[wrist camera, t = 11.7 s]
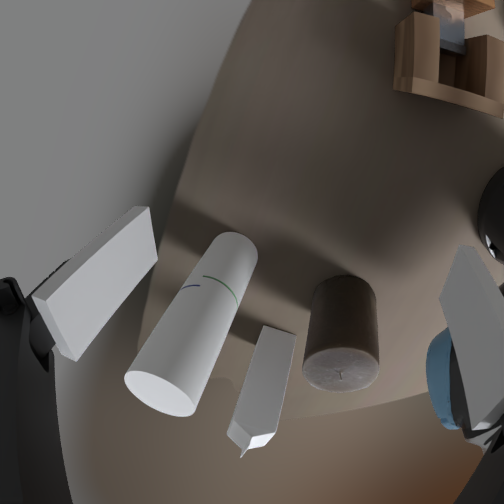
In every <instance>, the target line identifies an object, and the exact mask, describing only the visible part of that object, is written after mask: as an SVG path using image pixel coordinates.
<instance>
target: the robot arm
mask: <svg viewBox="0 0 504 504" xmlns="http://www.w3.org/2000/svg"><path fill="white" fill-rule="evenodd" d="M478 230H479V234H480V237H481V240H482V242H483V244H484V246H485V247H486V248H487V250H488V251H489V253H490V254H491V255H492V257H493V258H494V259H496V260H497V261H498V262H500V263H501V264H503V265H504V167H503V168H502V169H501V170H499V171H498V172H497V173H496V174H495V175H494V177H493V178H492V179H491V180H490V182H489V183H488V185H487V187H486V189H485V191H484V193H483V195H482V198H481V201H480V205H479V210H478ZM157 260H158V258H157V253H156V247H155V242H154V235H153V230H152V223H151V217H150V210H149V207H145V206H134V207H133V208H131V209H130V210H129V211H128V212H126V213H125V214H124V215H122V216H121V217H120V218H119V219H117V220H116V221H115V222H114V223H112V224H111V225H110V226H109V227H107V228H106V229H105V230H104V231H103V232H101V233H100V234H99V235H98V236H96V237H95V238H94V239H93V240H92V241H91V242H89V243H88V244H87V245H86V246H85V247H84V248H82V249H81V250H80V251H79V252H78V253H77V254H75V255H74V257H72V258H70V259H69V260H67V261H65V262H63V263H62V264H61V265H60V266H59V267H58V268H57V269H56V270H55V272H54V271H53V272H52V273H51V274H50V275H49V277H48V278H46V279H45V280H44V281H43V282H42V283H41V284H40V285H39V286H37V287H36V288H35V289H34V290H33V291H32V292H31V293H30V294H29V295H28V296H27V297H26V298H24V296H23V294H22V292H21V290H20V288H19V285H18V283H17V281H16V280H15V278H12V277H7V278H3V279H0V504H73V503H72V499H71V495H70V490H69V486H68V481H67V476H66V471H65V466H64V460H63V455H62V448H61V441H60V434H59V425H58V416H57V405H56V391H55V370H54V369H55V368H54V354H53V351H52V350H51V349H52V347H53V346H54V345H55V344H56V345H57V347H58V349H59V351H60V352H61V354H62V355H63V356H66V357H68V358H70V359H72V360H74V361H77V360H78V359H79V358H80V356H81V355H82V353H83V352H84V351H85V349H86V348H87V347H88V345H89V344H90V343H91V342H92V340H93V339H94V338H95V336H96V335H97V334H98V333H99V331H100V330H101V329H102V327H103V326H104V325H105V324H106V322H107V321H108V320H109V318H110V317H111V316H112V315H113V313H114V312H115V311H116V309H117V308H118V307H119V306H120V305H121V303H122V302H123V301H124V300H125V299H126V297H127V296H128V295H129V294H130V292H131V291H132V290H133V289H134V288H135V286H136V285H137V284H138V283H139V282H140V280H141V279H142V278H143V277H144V276H145V274H146V273H147V272H148V270H150V268H151V267H152V266H153V265H154V264H155V263H156V261H157ZM439 300H440V303H441V306H442V309H443V312H444V315H445V318H446V321H447V324H448V327H447V328H446V329H445V330H443V331H442V332H441V333H439V334H438V335H437V336H436V337H435V338H434V339H433V340H432V342H431V343H430V345H429V348H428V352H427V359H426V377H427V384H428V390H429V394H430V398H431V401H432V405H433V408H434V410H435V412H436V415H437V416H438V418H441V423H442V424H443V426H445V427H446V428H448V429H459V428H460V427H461V428H462V431H463V434H464V437H465V440H466V441H467V442H470V443H473V444H476V445H479V446H480V447H482V450H483V453H484V456H483V458H482V460H481V461H480V463H479V465H478V466H477V468H476V470H475V472H474V473H473V475H472V476H471V478H470V480H469V481H468V483H467V484H466V486H465V487H464V489H463V491H462V492H461V493H460V495H459V496H458V498H457V499H456V501H455V502H454V504H504V283H503V284H502V285H500V286H499V287H498V286H497V284H496V283H495V281H494V279H493V277H492V276H491V274H490V272H489V271H488V269H487V267H486V266H485V264H484V262H483V261H482V259H481V257H480V256H479V254H478V253H477V251H476V250H475V248H474V247H470V246H465V245H459V247H458V250H457V253H456V255H455V258H454V261H453V264H452V267H451V269H450V272H449V275H448V277H447V280H446V282H445V285H444V287H443V290H442V292H441V295H440V297H439Z"/></svg>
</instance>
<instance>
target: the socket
mask: <svg viewBox="0 0 504 504" xmlns="http://www.w3.org/2000/svg"><path fill="white" fill-rule="evenodd" d="M464 46H465V47H466V55H465V56H456V57H452V56H449V55H445V54H442V53H440V18H438V17H434V16H430V15H427V14H423V13H419V12H415V11H414V12H413V13H411V14H410V15H409V16H408V17H406V18H405V19H404V20H403V21H401V22H400V23H399V24H398V25H396V26H395V59H394V80H393V90H398V91H403V92H408V93H412V94H417V95H421V96H426V97H430V98H434V99H438V100H442V101H446V102H449V103H453V104H456V105H460V106H463V107H467V108H470V109H473V110H477V111H480V112H483V113H486V114H490V115H493V116H496V117H499V118H501V119H503V113H504V42H503V41H501V40H499V39H496V38H494V37H492V36H489V35H483V36H478V37H473V38H468V39H464Z"/></svg>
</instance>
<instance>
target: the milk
mask: <svg viewBox="0 0 504 504" xmlns="http://www.w3.org/2000/svg"><path fill="white" fill-rule="evenodd" d="M295 341H296V335H293V334H290V333H287V332H284V331H281V330H278V329H275V328H272V327H268V326H265V325H263V328H262V330H261V333H260V336H259V338H258V341H257V343H256V346H255V349H254V352H253V355H252V358H251V362H250V365H249V368H248V371H247V374H246V377H245V380H244V383H243V386H242V389H241V392H240V395H239V398H238V401H237V404H236V407H235V410H234V413H233V416H232V419H231V422H230V425H229V428H228V431H227V436H229V437H230V438H231V439H232V440H233V441H234V442H235V443H236V444H237V445H238V446H239V447H240V448H241V449H242V453H241V456H240V458H241V457H242V455H243V454H244V453H245V452H246V450H247V449H251V448H256V447H261V446H265V445H266V443H267V442H268V441H269V440H270V439H271V437H272V436H273V435H274V434H275V433H276V430H277V426H278V421H279V417H280V413H281V408H282V404H283V399H284V395H285V390H286V385H287V381H288V376H289V371H290V366H291V361H292V356H293V351H294V346H295Z"/></svg>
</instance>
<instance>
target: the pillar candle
mask: <svg viewBox="0 0 504 504" xmlns="http://www.w3.org/2000/svg"><path fill="white" fill-rule="evenodd" d="M302 371H303V375H304V377H305V379H306V380H307V381H308V382H309V383H310V385H311V386H314V387H315V388H317V389H321V390H326V391H329V392H337V393H342V392H352V391H356V390H359V389H362V388H366V387H368V386H370V384H371V383H372V382H373V381H374V380H375V379H376V378H377V376H378V374H379V344H378V325H377V310H376V297H375V294H374V292H373V290H372V288H371V287H370V285H369V284H368V283H367V282H365V281H364V280H362V279H360V278H357V277H354V276H344V275H340V276H334V277H332V278H330V279H327V280H325V281H324V282H323V283H321V284H320V285H319V286H318V287H317V289H316V291H315V293H314V296H313V302H312V309H311V316H310V323H309V329H308V335H307V342H306V348H305V354H304V361H303V366H302Z"/></svg>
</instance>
